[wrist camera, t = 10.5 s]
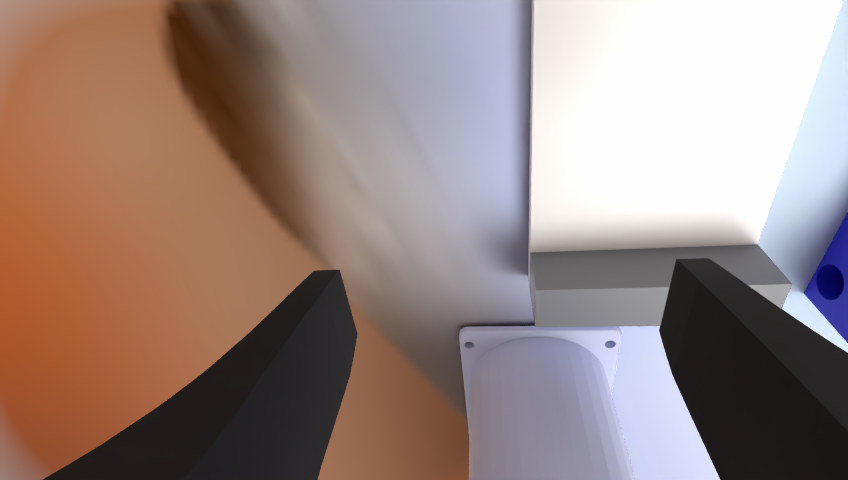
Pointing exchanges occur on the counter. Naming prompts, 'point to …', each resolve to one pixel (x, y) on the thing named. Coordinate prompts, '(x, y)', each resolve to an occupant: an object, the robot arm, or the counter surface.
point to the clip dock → (660, 145)
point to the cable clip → (833, 282)
